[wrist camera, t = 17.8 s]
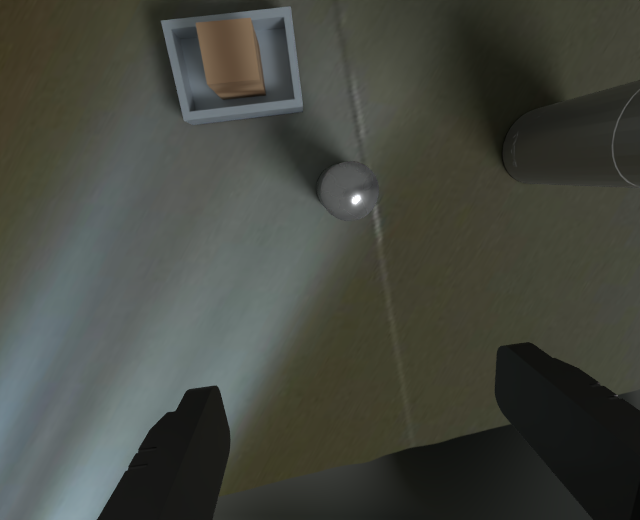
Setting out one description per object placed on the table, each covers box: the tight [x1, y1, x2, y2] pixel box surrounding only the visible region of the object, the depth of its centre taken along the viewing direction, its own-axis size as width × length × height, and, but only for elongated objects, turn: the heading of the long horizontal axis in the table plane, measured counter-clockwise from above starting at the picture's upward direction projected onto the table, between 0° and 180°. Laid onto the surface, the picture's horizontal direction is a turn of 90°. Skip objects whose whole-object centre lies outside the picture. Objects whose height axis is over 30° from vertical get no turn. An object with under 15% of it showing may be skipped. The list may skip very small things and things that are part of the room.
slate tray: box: [161, 6, 303, 125], centre depth 33 cm, size 13×9×3 cm
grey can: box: [317, 161, 379, 221], centre depth 35 cm, size 6×6×8 cm
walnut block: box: [196, 18, 266, 100], centre depth 31 cm, size 5×5×6 cm
